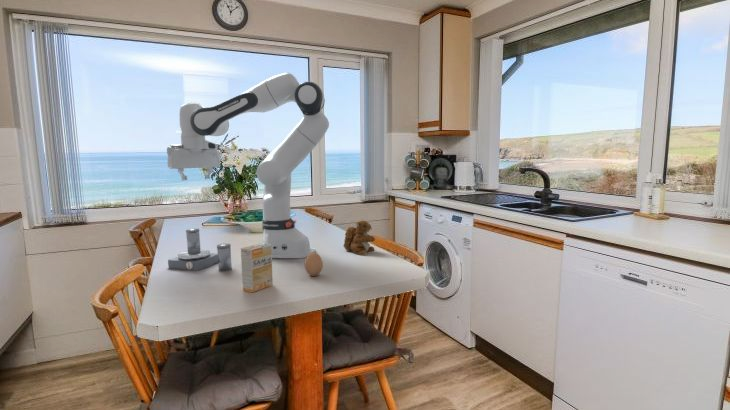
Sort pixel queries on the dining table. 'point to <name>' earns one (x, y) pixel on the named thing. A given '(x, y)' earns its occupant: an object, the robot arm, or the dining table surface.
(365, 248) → the stuffed squirrel
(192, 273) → the dining table surface
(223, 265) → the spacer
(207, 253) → the pan
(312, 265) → the egg
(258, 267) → the supplement box
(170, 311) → the dining table surface
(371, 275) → the dining table surface
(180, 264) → the scale
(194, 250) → the cylinder
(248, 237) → the dining table surface
